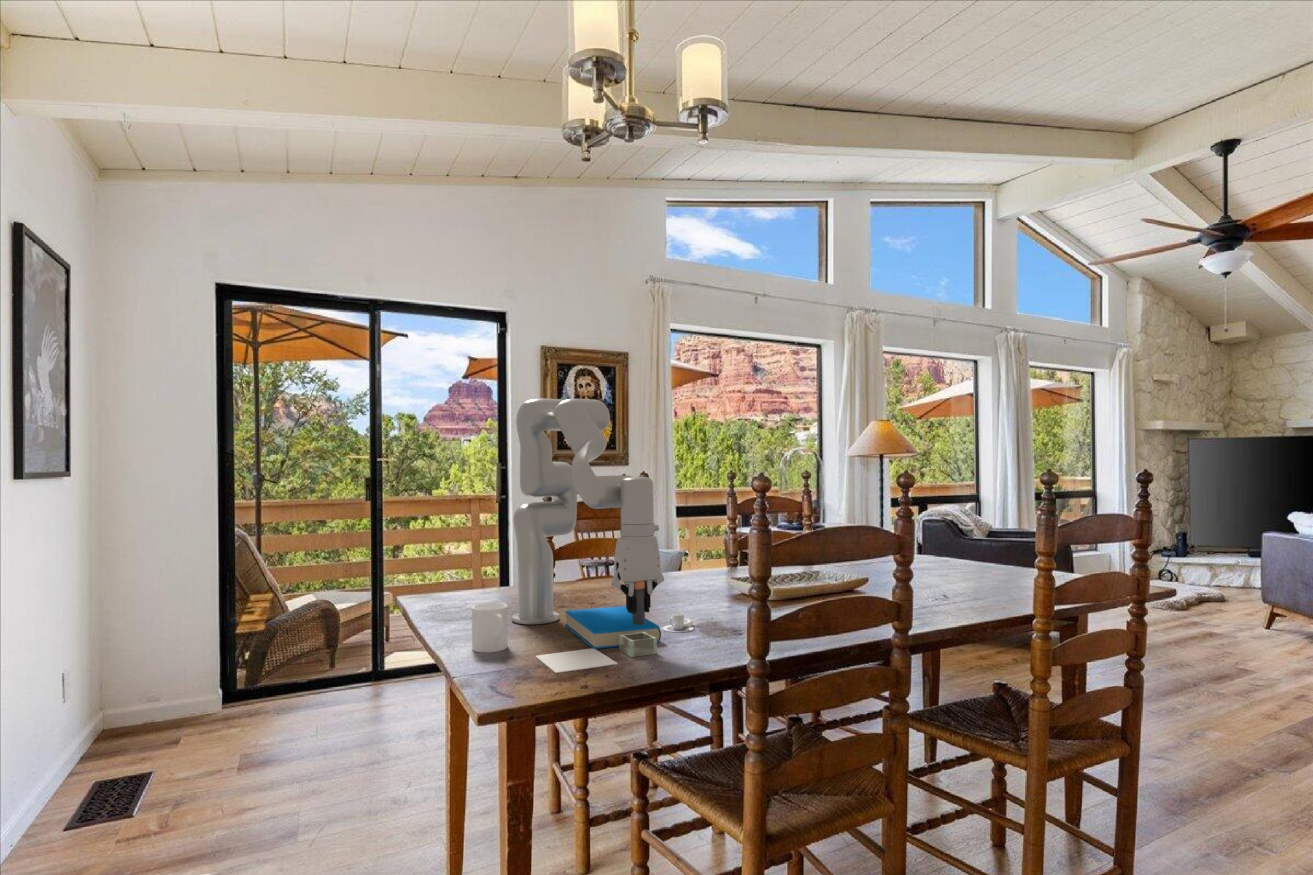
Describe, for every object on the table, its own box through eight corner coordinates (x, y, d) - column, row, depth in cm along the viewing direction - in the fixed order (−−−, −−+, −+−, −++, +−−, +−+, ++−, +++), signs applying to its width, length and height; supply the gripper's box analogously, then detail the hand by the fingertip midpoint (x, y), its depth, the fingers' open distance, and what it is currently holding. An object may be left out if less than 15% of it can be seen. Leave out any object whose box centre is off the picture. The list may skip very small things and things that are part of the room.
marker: (629, 622, 177) (629, 578, 177) (642, 621, 178) (641, 577, 178) (635, 625, 174) (634, 580, 174) (647, 623, 175) (647, 579, 175)
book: (593, 632, 178) (564, 609, 201) (593, 650, 178) (564, 625, 201) (662, 625, 184) (626, 604, 208) (662, 643, 184) (625, 620, 208)
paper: (535, 656, 173) (535, 655, 173) (593, 648, 179) (593, 648, 179) (555, 673, 160) (555, 672, 160) (617, 664, 166) (617, 663, 166)
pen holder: (619, 650, 178) (619, 634, 178) (644, 646, 180) (644, 631, 180) (630, 657, 172) (630, 641, 172) (656, 653, 175) (656, 637, 175)
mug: (485, 658, 171) (485, 614, 171) (467, 646, 181) (467, 604, 182) (519, 653, 176) (519, 609, 176) (500, 641, 186) (499, 600, 186)
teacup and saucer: (687, 624, 204) (687, 609, 204) (701, 631, 196) (701, 615, 197) (657, 628, 200) (657, 612, 200) (670, 635, 193) (670, 618, 193)
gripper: (661, 527, 183) (662, 605, 183) (598, 531, 176) (599, 612, 176) (676, 530, 176) (677, 611, 176) (610, 534, 169) (611, 619, 169)
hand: (638, 611), depth 176 cm, fingers closed on marker, 2 cm apart
